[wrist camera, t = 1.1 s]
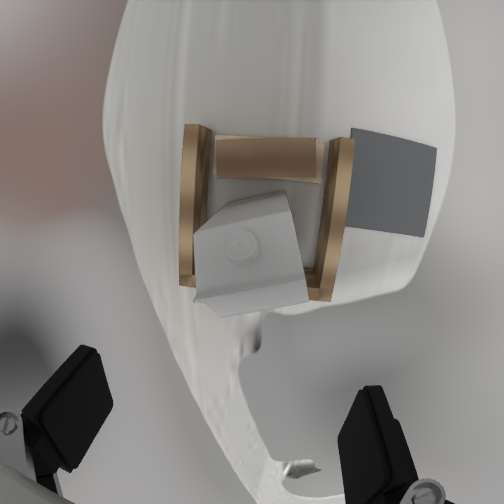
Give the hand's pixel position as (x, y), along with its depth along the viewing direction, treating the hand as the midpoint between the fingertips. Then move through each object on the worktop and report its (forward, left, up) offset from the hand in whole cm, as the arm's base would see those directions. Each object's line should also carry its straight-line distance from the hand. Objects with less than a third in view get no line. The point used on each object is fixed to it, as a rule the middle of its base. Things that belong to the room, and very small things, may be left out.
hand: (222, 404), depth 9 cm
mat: (-7, +15, -28) cm, 33 cm away
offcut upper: (-8, 0, -25) cm, 27 cm away
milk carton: (0, 0, -28) cm, 28 cm away
